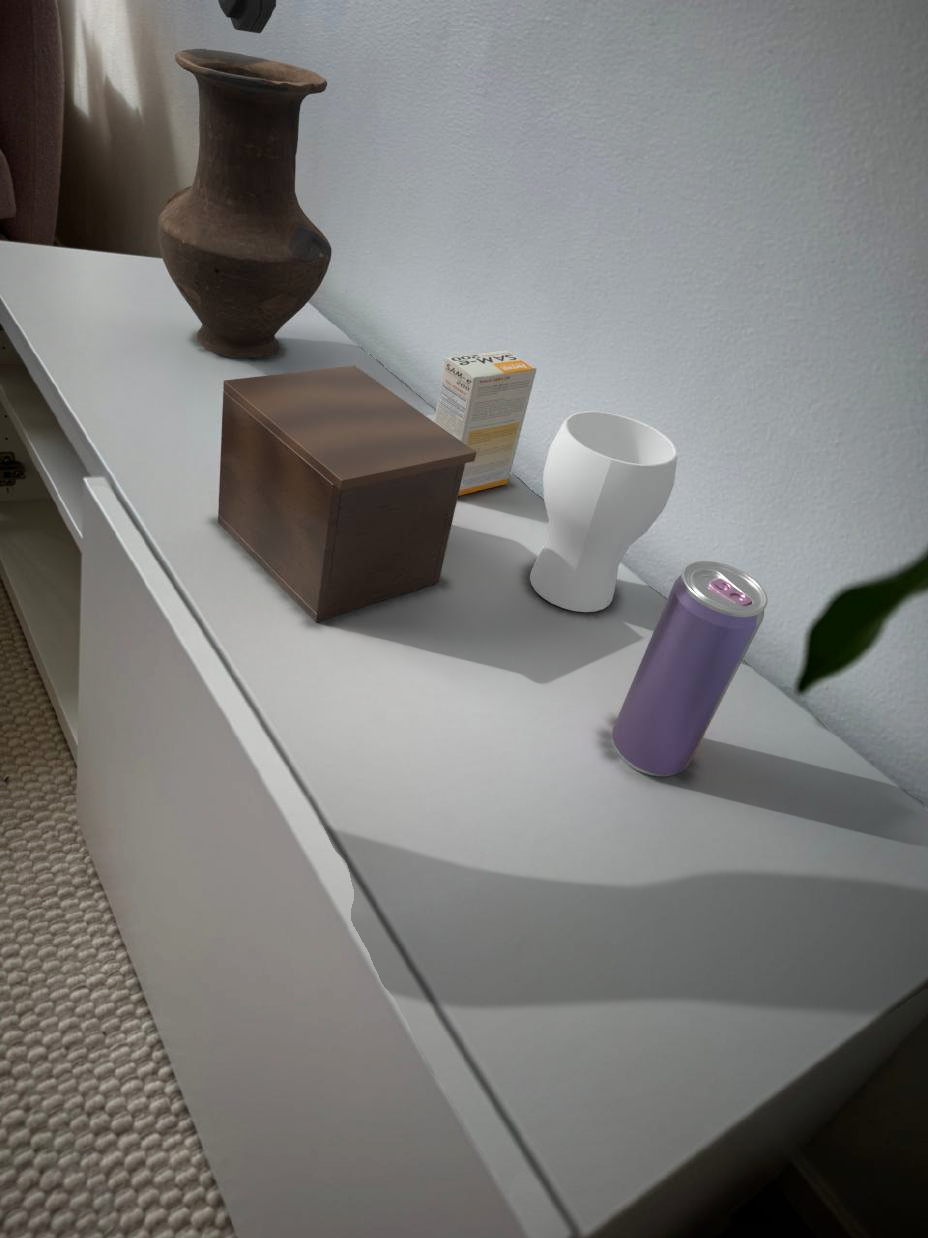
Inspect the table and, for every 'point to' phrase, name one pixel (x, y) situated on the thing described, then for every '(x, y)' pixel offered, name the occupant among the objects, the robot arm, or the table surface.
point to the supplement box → (485, 412)
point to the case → (330, 521)
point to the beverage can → (688, 666)
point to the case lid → (348, 425)
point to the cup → (599, 504)
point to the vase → (244, 205)
